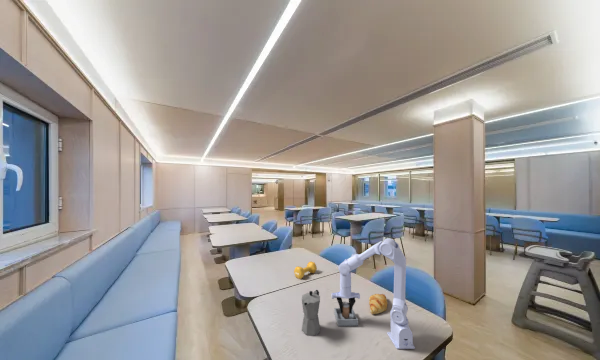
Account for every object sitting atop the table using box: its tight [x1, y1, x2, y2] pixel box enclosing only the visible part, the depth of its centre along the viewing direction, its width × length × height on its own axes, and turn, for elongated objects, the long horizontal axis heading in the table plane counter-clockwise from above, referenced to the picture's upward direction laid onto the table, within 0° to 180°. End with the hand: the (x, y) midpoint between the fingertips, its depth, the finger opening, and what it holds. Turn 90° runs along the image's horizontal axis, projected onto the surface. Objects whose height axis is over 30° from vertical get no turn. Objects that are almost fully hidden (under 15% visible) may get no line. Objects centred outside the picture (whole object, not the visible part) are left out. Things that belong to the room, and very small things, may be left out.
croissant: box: [368, 293, 388, 315], centre depth 117 cm, size 21×10×8 cm, turn 142°
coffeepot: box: [301, 289, 321, 337], centre depth 99 cm, size 15×9×18 cm, turn 151°
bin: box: [333, 307, 359, 327], centre depth 105 cm, size 10×10×3 cm
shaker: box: [342, 301, 350, 318], centre depth 106 cm, size 4×4×6 cm
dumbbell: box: [293, 261, 318, 280], centre depth 159 cm, size 19×9×8 cm, turn 135°
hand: (345, 312), depth 105 cm, fingers closed on shaker, 4 cm apart
